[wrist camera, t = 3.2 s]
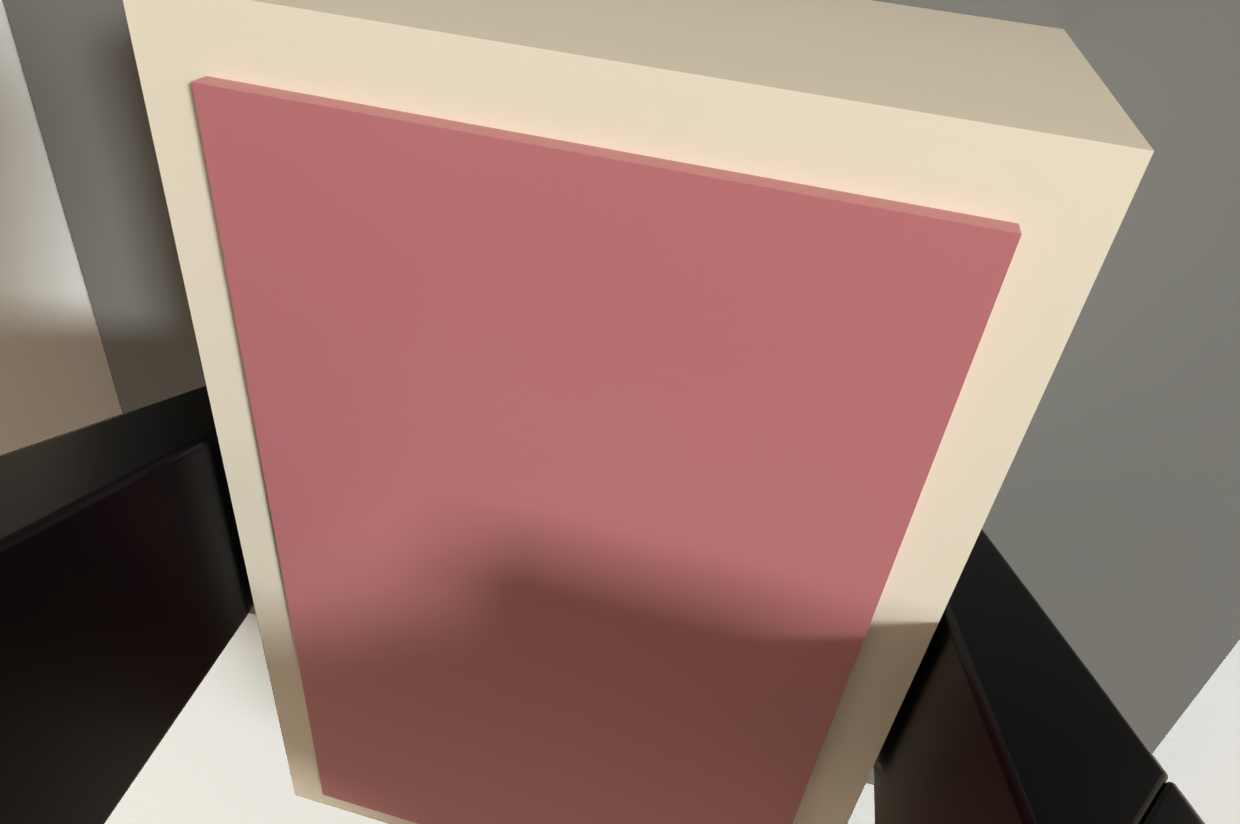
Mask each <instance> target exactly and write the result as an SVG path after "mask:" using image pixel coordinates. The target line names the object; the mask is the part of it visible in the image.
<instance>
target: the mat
mask: <svg viewBox="0 0 1240 824" xmlns="http://www.w3.org/2000/svg"><path fill="white" fill-rule="evenodd" d="M873 1H880V2H887V3H893V4H900V5H907V6H913V7H920V8H927V9H933V10H940V11H947V12H953V13H960V14H967V15H973V16H980V17H987V18H993V19H1000V20H1007V21H1013V22H1020V23H1027V24H1033V25H1040V26H1047V27H1053V28H1060V29H1064V30H1065V31H1066V33H1067V34H1068V36H1069V37H1070V38H1071V40H1072V41H1073V42H1074V44H1075V45H1076V46H1077V48H1078V49H1079V50H1080V52H1081V53H1082V54H1083V56H1084V57H1085V58H1086V60H1087V61H1088V62H1089V64H1090V65H1091V66H1092V68H1093V69H1094V71H1095V72H1096V73H1097V75H1098V76H1099V77H1100V79H1101V80H1102V81H1103V83H1104V84H1105V85H1106V87H1107V88H1108V89H1109V91H1110V92H1111V93H1112V95H1113V96H1114V97H1115V99H1116V100H1117V102H1118V103H1119V104H1120V106H1121V107H1122V108H1123V110H1124V111H1125V112H1126V114H1127V115H1128V116H1129V118H1130V119H1131V120H1132V122H1133V123H1134V124H1135V126H1136V127H1137V128H1138V130H1139V131H1140V133H1141V134H1142V135H1143V137H1144V138H1145V139H1146V141H1147V142H1148V143H1149V145H1150V146H1151V147H1152V149H1153V150H1154V153H1153V155H1152V157H1151V159H1150V161H1149V163H1148V166H1147V168H1146V170H1145V172H1144V174H1143V177H1142V179H1141V181H1140V183H1139V185H1138V188H1137V190H1136V192H1135V194H1134V196H1133V198H1132V201H1131V203H1130V205H1129V207H1128V209H1127V212H1126V214H1125V216H1124V218H1123V220H1122V223H1121V225H1120V227H1119V229H1118V231H1117V234H1116V236H1115V238H1114V240H1113V242H1112V244H1111V247H1110V249H1109V251H1108V253H1107V255H1106V258H1105V260H1104V262H1103V264H1102V266H1101V269H1100V271H1099V273H1098V275H1097V277H1096V280H1095V282H1094V284H1093V286H1092V288H1091V290H1090V293H1089V295H1088V297H1087V299H1086V301H1085V304H1084V306H1083V308H1082V310H1081V312H1080V315H1079V317H1078V319H1077V321H1076V323H1075V326H1074V328H1073V330H1072V332H1071V334H1070V336H1069V339H1068V341H1067V343H1066V345H1065V347H1064V350H1063V352H1062V354H1061V356H1060V358H1059V361H1058V363H1057V365H1056V367H1055V369H1054V372H1053V374H1052V376H1051V378H1050V380H1049V382H1048V385H1047V387H1046V389H1045V391H1044V393H1043V396H1042V398H1041V400H1040V402H1039V404H1038V407H1037V409H1036V411H1035V413H1034V415H1033V417H1032V420H1031V422H1030V424H1029V426H1028V428H1027V431H1026V433H1025V435H1024V437H1023V439H1022V442H1021V444H1020V446H1019V448H1018V450H1017V453H1016V455H1015V457H1014V459H1013V461H1012V463H1011V466H1010V468H1009V470H1008V472H1007V474H1006V477H1005V479H1004V481H1003V483H1002V485H1001V488H1000V490H999V492H998V494H997V496H996V499H995V501H994V503H993V505H992V507H991V509H990V512H989V514H988V516H987V518H986V520H985V523H984V525H983V527H982V529H983V531H984V532H985V533H986V535H987V536H988V537H989V539H990V540H991V541H992V543H993V544H994V545H995V547H996V548H997V549H998V551H999V552H1000V553H1001V554H1002V556H1003V557H1004V558H1005V560H1006V561H1007V562H1008V564H1009V565H1010V566H1011V568H1012V569H1013V570H1014V572H1015V573H1016V574H1017V576H1018V577H1019V578H1020V580H1021V581H1022V582H1023V584H1024V585H1025V586H1026V588H1027V589H1028V590H1029V592H1030V593H1031V594H1032V596H1033V597H1034V598H1035V600H1036V601H1037V602H1038V604H1039V605H1040V606H1041V607H1042V609H1043V610H1044V611H1045V613H1046V614H1047V615H1048V617H1049V618H1050V619H1051V621H1052V622H1053V623H1054V625H1055V626H1056V627H1057V629H1058V630H1059V631H1060V633H1061V634H1062V635H1063V637H1064V638H1065V639H1066V641H1067V642H1068V643H1069V645H1070V646H1071V647H1072V649H1073V650H1074V651H1075V653H1076V654H1077V655H1078V657H1079V658H1080V659H1081V660H1082V662H1083V663H1084V664H1085V666H1086V667H1087V668H1088V670H1089V671H1090V672H1091V674H1092V675H1093V676H1094V678H1095V679H1096V680H1097V682H1098V683H1099V684H1100V686H1101V687H1102V688H1103V690H1104V691H1105V692H1106V694H1107V695H1108V696H1109V698H1110V699H1111V700H1112V702H1113V703H1114V704H1115V706H1116V707H1117V708H1118V710H1119V711H1120V712H1121V714H1122V715H1123V716H1124V717H1125V719H1126V720H1127V721H1128V723H1129V724H1130V725H1131V727H1132V728H1133V729H1134V731H1135V732H1136V733H1137V735H1138V736H1139V737H1140V739H1141V740H1142V741H1143V743H1144V744H1145V745H1146V747H1147V748H1148V749H1149V751H1150V752H1151V753H1153V752H1154V750H1155V749H1156V748H1157V746H1158V745H1159V744H1160V742H1161V741H1162V740H1163V739H1164V737H1165V736H1166V735H1167V733H1168V732H1169V731H1170V729H1171V728H1172V727H1173V725H1174V724H1175V723H1176V722H1177V720H1178V719H1179V718H1180V716H1181V715H1182V714H1183V712H1184V711H1185V710H1186V709H1187V707H1188V706H1189V705H1190V703H1191V702H1192V701H1193V699H1194V698H1195V697H1196V695H1197V694H1198V693H1199V692H1200V690H1201V689H1202V688H1203V686H1204V685H1205V684H1206V682H1207V681H1208V680H1209V679H1210V677H1211V676H1212V675H1213V673H1214V672H1215V671H1216V669H1217V668H1218V667H1219V665H1220V664H1221V663H1222V662H1223V660H1224V659H1225V658H1226V656H1227V655H1228V654H1229V652H1230V651H1231V650H1232V649H1233V647H1234V646H1235V645H1236V643H1237V642H1238V641H1239V639H1240V0H873ZM3 3H4V7H5V10H6V14H7V17H8V20H9V24H10V27H11V31H12V34H13V38H14V41H15V44H16V48H17V51H18V55H19V58H20V62H21V65H22V69H23V72H24V75H25V79H26V82H27V86H28V89H29V93H30V96H31V99H32V103H33V106H34V110H35V113H36V117H37V120H38V124H39V127H40V130H41V134H42V137H43V141H44V144H45V148H46V151H47V155H48V158H49V161H50V165H51V168H52V172H53V175H54V179H55V182H56V185H57V189H58V192H59V196H60V199H61V203H62V206H63V210H64V213H65V216H66V220H67V223H68V227H69V230H70V234H71V237H72V240H73V244H74V247H75V251H76V254H77V258H78V261H79V265H80V268H81V271H82V275H83V278H84V282H85V285H86V289H87V292H88V295H89V299H90V302H91V306H92V309H93V313H94V316H95V320H96V323H97V326H98V330H99V333H100V337H101V340H102V344H103V347H104V351H105V354H106V357H107V361H108V364H109V368H110V371H111V375H112V378H113V381H114V385H115V388H116V392H117V395H118V399H119V402H120V406H121V409H122V412H123V414H124V413H127V412H130V411H133V410H135V409H138V408H141V407H144V406H147V405H150V404H153V403H156V402H159V401H162V400H165V399H168V398H171V397H174V396H177V395H179V394H182V393H185V392H188V391H191V390H194V389H197V388H200V387H203V386H206V381H205V377H204V372H203V368H202V363H201V358H200V354H199V349H198V345H197V340H196V335H195V331H194V326H193V322H192V317H191V312H190V308H189V303H188V299H187V294H186V289H185V285H184V280H183V276H182V271H181V266H180V262H179V257H178V253H177V248H176V243H175V239H174V234H173V229H172V225H171V220H170V216H169V211H168V206H167V202H166V197H165V193H164V188H163V183H162V179H161V174H160V170H159V165H158V160H157V156H156V151H155V147H154V142H153V137H152V133H151V128H150V124H149V119H148V114H147V110H146V105H145V101H144V96H143V91H142V87H141V82H140V78H139V73H138V68H137V64H136V59H135V55H134V50H133V45H132V41H131V36H130V32H129V27H128V22H127V18H126V13H125V9H124V4H123V0H3ZM250 613H253V614H256V612H255V607H254V606H253V607H252V609H251V610H250ZM866 783H869V784H872V785H874V766H873V768H872V770H871V772H870V774H869V777H868V779H867V781H866Z"/></svg>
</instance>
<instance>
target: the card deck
mask: <svg viewBox="0 0 1240 824" xmlns="http://www.w3.org/2000/svg"><path fill="white" fill-rule="evenodd" d="M123 4H124V9H125V13H126V18H127V22H128V27H129V32H130V36H131V41H132V45H133V50H134V55H135V59H136V64H137V68H138V73H139V78H140V82H141V87H142V91H143V96H144V101H145V105H146V110H147V114H148V119H149V124H150V128H151V133H152V137H153V142H154V147H155V151H156V156H157V160H158V165H159V170H160V174H161V179H162V183H163V188H164V193H165V197H166V202H167V206H168V211H169V216H170V220H171V225H172V229H173V234H174V239H175V243H176V248H177V253H178V257H179V262H180V266H181V271H182V276H183V280H184V285H185V289H186V294H187V299H188V303H189V308H190V312H191V317H192V322H193V326H194V331H195V335H196V340H197V345H198V349H199V354H200V358H201V363H202V368H203V372H204V377H205V381H206V386H207V391H208V395H209V400H210V404H211V409H212V414H213V418H214V423H215V427H216V432H217V437H218V441H219V446H220V450H221V455H222V460H223V464H224V469H225V473H226V478H227V483H228V487H229V492H230V496H231V501H232V506H233V510H234V515H235V519H236V524H237V529H238V533H239V538H240V543H241V547H242V552H243V556H244V561H245V566H246V570H247V575H248V579H249V584H250V589H251V593H252V598H253V602H254V607H255V612H256V616H257V621H258V625H259V630H260V635H261V639H262V644H263V648H264V653H265V658H266V662H267V667H268V671H269V676H270V681H271V685H272V690H273V694H274V699H275V704H276V708H277V713H278V717H279V722H280V727H281V731H282V736H283V740H284V745H285V750H286V754H287V759H288V763H289V768H290V773H291V777H292V782H293V786H294V791H295V795H298V796H301V797H304V798H307V799H311V800H314V801H317V802H320V803H324V804H327V805H330V806H333V807H337V808H340V809H343V810H346V811H350V812H353V813H356V814H360V815H363V816H366V817H369V818H373V819H376V820H379V821H382V822H386V823H389V824H847V823H848V820H849V818H850V816H851V814H852V812H853V810H854V807H855V805H856V803H857V801H858V799H859V796H860V794H861V792H862V790H863V788H864V785H865V783H866V781H867V779H868V777H869V774H870V772H871V770H872V768H873V766H874V764H875V761H876V759H877V757H878V755H879V753H880V750H881V748H882V746H883V744H884V742H885V739H886V737H887V735H888V733H889V731H890V728H891V726H892V724H893V722H894V720H895V718H896V715H897V713H898V711H899V709H900V707H901V704H902V702H903V700H904V698H905V696H906V693H907V691H908V689H909V687H910V685H911V682H912V680H913V678H914V676H915V674H916V672H917V669H918V667H919V665H920V663H921V661H922V658H923V656H924V654H925V652H926V650H927V647H928V645H929V643H930V641H931V639H932V637H933V634H934V632H935V630H936V628H937V626H938V623H939V621H940V619H941V617H942V615H943V612H944V610H945V608H946V606H947V604H948V601H949V599H950V597H951V595H952V593H953V591H954V588H955V586H956V584H957V582H958V580H959V577H960V575H961V573H962V571H963V569H964V566H965V564H966V562H967V560H968V558H969V555H970V553H971V551H972V549H973V547H974V545H975V542H976V540H977V538H978V536H979V534H980V531H981V529H982V527H983V525H984V523H985V520H986V518H987V516H988V514H989V512H990V509H991V507H992V505H993V503H994V501H995V499H996V496H997V494H998V492H999V490H1000V488H1001V485H1002V483H1003V481H1004V479H1005V477H1006V474H1007V472H1008V470H1009V468H1010V466H1011V463H1012V461H1013V459H1014V457H1015V455H1016V453H1017V450H1018V448H1019V446H1020V444H1021V442H1022V439H1023V437H1024V435H1025V433H1026V431H1027V428H1028V426H1029V424H1030V422H1031V420H1032V417H1033V415H1034V413H1035V411H1036V409H1037V407H1038V404H1039V402H1040V400H1041V398H1042V396H1043V393H1044V391H1045V389H1046V387H1047V385H1048V382H1049V380H1050V378H1051V376H1052V374H1053V372H1054V369H1055V367H1056V365H1057V363H1058V361H1059V358H1060V356H1061V354H1062V352H1063V350H1064V347H1065V345H1066V343H1067V341H1068V339H1069V336H1070V334H1071V332H1072V330H1073V328H1074V326H1075V323H1076V321H1077V319H1078V317H1079V315H1080V312H1081V310H1082V308H1083V306H1084V304H1085V301H1086V299H1087V297H1088V295H1089V293H1090V290H1091V288H1092V286H1093V284H1094V282H1095V280H1096V277H1097V275H1098V273H1099V271H1100V269H1101V266H1102V264H1103V262H1104V260H1105V258H1106V255H1107V253H1108V251H1109V249H1110V247H1111V244H1112V242H1113V240H1114V238H1115V236H1116V234H1117V231H1118V229H1119V227H1120V225H1121V223H1122V220H1123V218H1124V216H1125V214H1126V212H1127V209H1128V207H1129V205H1130V203H1131V201H1132V198H1133V196H1134V194H1135V192H1136V190H1137V188H1138V185H1139V183H1140V181H1141V179H1142V177H1143V174H1144V172H1145V170H1146V168H1147V166H1148V163H1149V161H1150V159H1151V157H1152V155H1153V153H1154V150H1153V149H1152V147H1151V146H1150V145H1149V143H1148V142H1147V141H1146V139H1145V138H1144V137H1143V135H1142V134H1141V133H1140V131H1139V130H1138V128H1137V127H1136V126H1135V124H1134V123H1133V122H1132V120H1131V119H1130V118H1129V116H1128V115H1127V114H1126V112H1125V111H1124V110H1123V108H1122V107H1121V106H1120V104H1119V103H1118V102H1117V100H1116V99H1115V97H1114V96H1113V95H1112V93H1111V92H1110V91H1109V89H1108V88H1107V87H1106V85H1105V84H1104V83H1103V81H1102V80H1101V79H1100V77H1099V76H1098V75H1097V73H1096V72H1095V71H1094V69H1093V68H1092V66H1091V65H1090V64H1089V62H1088V61H1087V60H1086V58H1085V57H1084V56H1083V54H1082V53H1081V52H1080V50H1079V49H1078V48H1077V46H1076V45H1075V44H1074V42H1073V41H1072V40H1071V38H1070V37H1069V36H1068V34H1067V33H1066V31H1065V30H1064V29H1060V28H1053V27H1047V26H1040V25H1033V24H1027V23H1020V22H1013V21H1007V20H1000V19H993V18H987V17H980V16H973V15H967V14H960V13H953V12H947V11H940V10H933V9H927V8H920V7H913V6H907V5H900V4H893V3H887V2H880V1H873V0H123Z"/></svg>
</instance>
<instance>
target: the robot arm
mask: <svg viewBox="0 0 1240 824" xmlns="http://www.w3.org/2000/svg"><path fill="white" fill-rule="evenodd" d="M253 606H254V602H253V598H252V593H251V589H250V584H249V579H248V575H247V570H246V566H245V561H244V556H243V552H242V547H241V543H240V538H239V533H238V529H237V524H236V519H235V515H234V510H233V506H232V501H231V496H230V492H229V487H228V483H227V478H226V473H225V469H224V464H223V460H222V455H221V450H220V446H219V441H218V437H217V432H216V427H215V423H214V418H213V414H212V409H211V404H210V400H209V395H208V391H207V386H203V387H200V388H197V389H194V390H191V391H188V392H185V393H182V394H179V395H177V396H174V397H171V398H168V399H165V400H162V401H159V402H156V403H153V404H150V405H147V406H144V407H141V408H138V409H135V410H133V411H130V412H127V413H124V414H121V415H118V416H115V417H112V418H109V419H106V420H103V421H100V422H97V423H94V424H92V425H89V426H86V427H83V428H80V429H77V430H74V431H71V432H68V433H65V434H62V435H59V436H56V437H53V438H51V439H48V440H45V441H42V442H39V443H36V444H33V445H30V446H27V447H24V448H21V449H18V450H15V451H12V452H10V453H7V454H4V455H1V456H0V824H104V823H105V822H106V820H107V819H108V817H109V816H110V815H111V813H112V812H113V810H114V809H115V807H116V806H117V804H118V803H119V801H120V800H121V798H122V797H123V796H124V794H125V793H126V791H127V790H128V788H129V787H130V785H131V784H132V782H133V781H134V780H135V778H136V777H137V775H138V774H139V772H140V771H141V769H142V768H143V766H144V765H145V763H146V762H147V761H148V759H149V758H150V756H151V755H152V753H153V752H154V750H155V749H156V747H157V746H158V745H159V743H160V742H161V740H162V739H163V737H164V736H165V734H166V733H167V731H168V730H169V728H170V727H171V726H172V724H173V723H174V721H175V720H176V718H177V717H178V715H179V714H180V712H181V711H182V710H183V708H184V707H185V705H186V704H187V702H188V701H189V699H190V698H191V696H192V695H193V693H194V692H195V691H196V689H197V688H198V686H199V685H200V683H201V682H202V680H203V679H204V677H205V676H206V674H207V673H208V672H209V670H210V669H211V667H212V666H213V664H214V663H215V661H216V660H217V658H218V657H219V656H220V654H221V653H222V651H223V650H224V648H225V647H226V645H227V644H228V642H229V641H230V639H231V638H232V637H233V635H234V634H235V632H236V631H237V629H238V628H239V626H240V625H241V623H242V622H243V621H244V619H245V618H246V616H247V615H248V613H249V612H250V610H251V609H252V607H253ZM1167 779H1168V775H1167V773H1166V772H1165V770H1164V769H1163V768H1162V767H1161V765H1160V764H1159V763H1158V761H1157V760H1156V759H1155V757H1154V756H1153V755H1152V753H1151V752H1150V751H1149V749H1148V748H1147V747H1146V745H1145V744H1144V743H1143V741H1142V740H1141V739H1140V737H1139V736H1138V735H1137V733H1136V732H1135V731H1134V729H1133V728H1132V727H1131V725H1130V724H1129V723H1128V721H1127V720H1126V719H1125V717H1124V716H1123V715H1122V714H1121V712H1120V711H1119V710H1118V708H1117V707H1116V706H1115V704H1114V703H1113V702H1112V700H1111V699H1110V698H1109V696H1108V695H1107V694H1106V692H1105V691H1104V690H1103V688H1102V687H1101V686H1100V684H1099V683H1098V682H1097V680H1096V679H1095V678H1094V676H1093V675H1092V674H1091V672H1090V671H1089V670H1088V668H1087V667H1086V666H1085V664H1084V663H1083V662H1082V660H1081V659H1080V658H1079V657H1078V655H1077V654H1076V653H1075V651H1074V650H1073V649H1072V647H1071V646H1070V645H1069V643H1068V642H1067V641H1066V639H1065V638H1064V637H1063V635H1062V634H1061V633H1060V631H1059V630H1058V629H1057V627H1056V626H1055V625H1054V623H1053V622H1052V621H1051V619H1050V618H1049V617H1048V615H1047V614H1046V613H1045V611H1044V610H1043V609H1042V607H1041V606H1040V605H1039V604H1038V602H1037V601H1036V600H1035V598H1034V597H1033V596H1032V594H1031V593H1030V592H1029V590H1028V589H1027V588H1026V586H1025V585H1024V584H1023V582H1022V581H1021V580H1020V578H1019V577H1018V576H1017V574H1016V573H1015V572H1014V570H1013V569H1012V568H1011V566H1010V565H1009V564H1008V562H1007V561H1006V560H1005V558H1004V557H1003V556H1002V554H1001V553H1000V552H999V551H998V549H997V548H996V547H995V545H994V544H993V543H992V541H991V540H990V539H989V537H988V536H987V535H986V533H985V532H984V531H983V529H981V531H980V534H979V536H978V538H977V540H976V542H975V545H974V547H973V549H972V551H971V553H970V555H969V558H968V560H967V562H966V564H965V566H964V569H963V571H962V573H961V575H960V577H959V580H958V582H957V584H956V586H955V588H954V591H953V593H952V595H951V597H950V599H949V601H948V604H947V606H946V608H945V610H944V612H943V615H942V617H941V619H940V621H939V623H938V626H937V628H936V630H935V632H934V634H933V637H932V639H931V641H930V643H929V645H928V647H927V650H926V652H925V654H924V656H923V658H922V661H921V663H920V665H919V667H918V669H917V672H916V674H915V676H914V678H913V680H912V682H911V685H910V687H909V689H908V691H907V693H906V696H905V698H904V700H903V702H902V704H901V707H900V709H899V711H898V713H897V715H896V718H895V720H894V722H893V724H892V726H891V728H890V731H889V733H888V735H887V737H886V739H885V742H884V744H883V746H882V748H881V750H880V753H879V755H878V757H877V759H876V761H875V764H874V801H875V824H1205V823H1204V822H1203V820H1202V819H1201V818H1200V816H1199V815H1198V814H1197V812H1196V811H1195V810H1194V808H1193V807H1192V806H1191V804H1190V803H1189V802H1188V800H1187V799H1186V798H1185V796H1184V795H1183V794H1182V792H1181V791H1180V790H1179V788H1178V787H1177V786H1176V785H1175V784H1174V783H1172V782H1167V783H1166V781H1167ZM1165 783H1166V784H1165Z"/></svg>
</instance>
